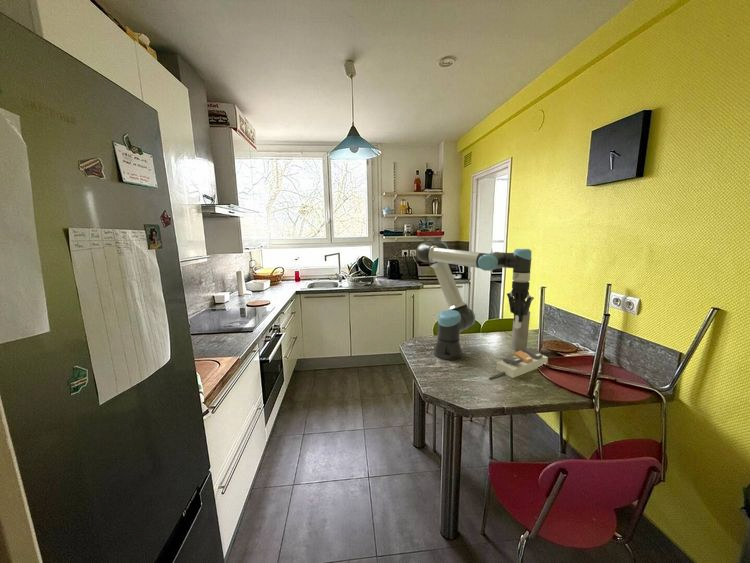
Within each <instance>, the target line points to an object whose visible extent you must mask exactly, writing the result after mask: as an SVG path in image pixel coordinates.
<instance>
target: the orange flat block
mask: <svg viewBox="0 0 750 563" xmlns="http://www.w3.org/2000/svg"><path fill="white" fill-rule="evenodd" d="M514 356H516V357H517V358H521V359H523V361H524V362H525V363H528V362H531V361H533V358H532V357H530V356H529V355H527V354H525V352H522V351H515V352H514V353H513V357H514Z"/></svg>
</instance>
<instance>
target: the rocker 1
mask: <svg viewBox="0 0 750 563" xmlns="http://www.w3.org/2000/svg"><path fill="white" fill-rule="evenodd" d="M502 360H503V362H508V363H513V364H518V363H521V362H523V359H521V358H516V357H514V356H507V357H503V358H502Z"/></svg>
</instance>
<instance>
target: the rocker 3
mask: <svg viewBox="0 0 750 563" xmlns="http://www.w3.org/2000/svg"><path fill="white" fill-rule="evenodd" d="M524 353H527V354H528V355H530V356H531V357H533V358H535V359H539V358H542V356H543V355H544V354H543V353H540V352H539V351H537V350H535V349H533V348H532V347H527V349H524Z"/></svg>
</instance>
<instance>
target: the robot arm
mask: <svg viewBox="0 0 750 563" xmlns="http://www.w3.org/2000/svg"><path fill="white" fill-rule="evenodd" d="M415 251H416V253H415V254H416V257H417V259H418V260H419V261H421V262H423V263H428V265H429V267H430V268H432V269H433V271H434V273H435V276H436V278H437V281H438V283H439V285H440V288H441V291H442V294H443V296H444V298H445V302H446V304H447V306H448V307H447V308H446V309H445V310H442V311H441V312H440V313H439V314H438V317H437V336H436V337H437V339H436V342H435V345H434V348H433V355H434V356H436V357H437V358H440V359H443V360H459V359H460V358H462V357H463V350H462V347H461V343H460V337H461V335H460V334H461V333H462V332H463V331H465V330H467V329H470V328H471V327H472V326H473V325H474V324H475V322H476V315H475V314H476V313H475V311H473V309H471V308H470V307H469V306H468V304H467V302H464V301H463V298H462V296H461V293H460V291H459V288H458V286H457V284H456V281H455V278H454V276H453V273H452V270H451V268H450V265H458V266H462V267H467V268H469V267H470V268H476V269H481V270H482V271H484V272H486V271H488V272H489V271H493V270H496V269H500V268H503V269H505V268H506V269H507V268H508V269H512V282H511V288H512V289H511V291H510V292H507V293H506V296H507V298H508V304H509V311H510V313H512V314H513V320H514V321H515V328H516V329H518V328H521V322H522V321H523V316H524V315H527V314H528V310H529V311H530V307H531V304H532V301H533V300H534V299H535V298H534V296H532V295H531V294H530V293H529V291H530V282H529V281H530V280H531V269H532V268H531V267H532V259H533V258H532V250H531V249H530V248H515V249H514V250H513V252H502V251H501V252H499V251H494V252H493V251H492V252H490V253H487V252H486V253H485V252H478V251H477V252H476V251H468V250H460V249H452V248H451V249H450V248H449V247H448V245H447V244H446V243H445V242H443V241H439V240H434V241H424V242H421V243H420V244H419V245H418V246H417V248H416V250H415ZM525 301H526V303H525ZM524 304H525V306H524Z"/></svg>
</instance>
